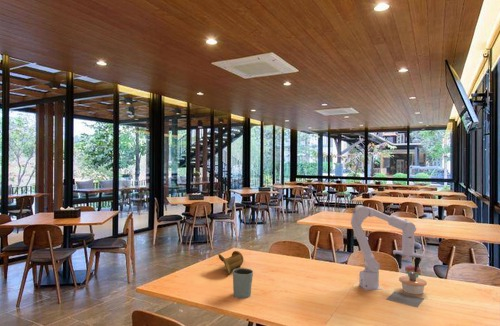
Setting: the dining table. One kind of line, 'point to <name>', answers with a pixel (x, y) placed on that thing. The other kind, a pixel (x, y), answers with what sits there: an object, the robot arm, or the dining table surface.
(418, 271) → the cupcake
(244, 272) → the grey cup
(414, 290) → the ramekin
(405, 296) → the mat
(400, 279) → the lid
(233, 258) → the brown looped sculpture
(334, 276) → the dining table surface
